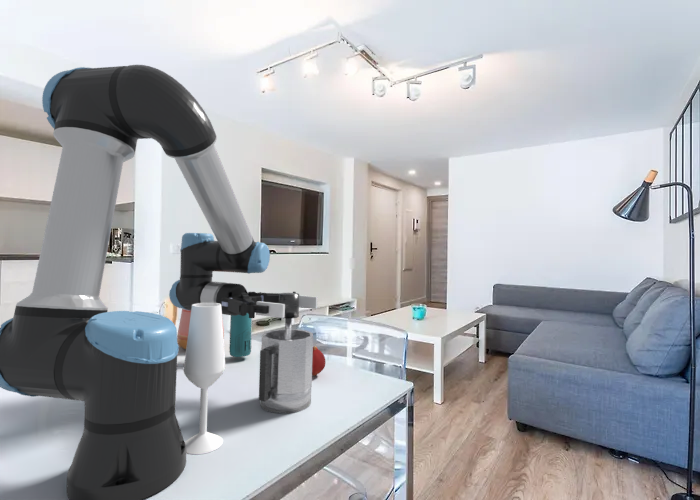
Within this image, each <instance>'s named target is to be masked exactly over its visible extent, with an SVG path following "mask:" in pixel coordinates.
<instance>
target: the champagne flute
mask: <svg viewBox="0 0 700 500" xmlns="http://www.w3.org/2000/svg"><path fill="white" fill-rule="evenodd" d="M222 318H223V314H222V308H221V304H220V303H197V304H193V305H192V308H191V316H190V324H189V332H188V339H187V347H186V350H185V356H184V365H183V373H184V376H185V377H186V379H188V381H189V382H190V383H192V384H193V385H194V386H195V387H197V388H199V389H200V398H199V400H200V402H199V403H200V404H199V432H198V433H196V434H194V435H193V436H191V437H189V438H188V439H186V440H184V442H185V445H186V454H189V455H203V454H208V453H211V452H214V451H215V450H217V449H219V448H220V447H221V446H222V445H223V442H224V439H223V437H221V436H220V435H218V434H215V433H212V432H209V431H208V428H207V427H208V403H209V402H208V397H209V396H208V393H209V392H208V391H209V387H211V386H213V385H214V384H215V383H216V382H217V381H218V380H219V379H220V378H221V377H222V375H223V373H224V371H225V369H226V357H225V356H226V355H225V342H224V341H225V340H224V339H225V337H224V338H223V328H224V322H223V323H222Z"/></svg>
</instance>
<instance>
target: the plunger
mask: <svg viewBox="0 0 700 500" xmlns="http://www.w3.org/2000/svg"><path fill="white" fill-rule="evenodd" d="M299 295H300V293H293V292H280V294H279V303H280V304H285V317H284V318H283V319H284V329H285V340H291V329H292V323H293V322H292V321H293V319H297V318H299V317H300V316H299V315H300V313H299V312H300V311H299V310H300V307H299Z"/></svg>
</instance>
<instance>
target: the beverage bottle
mask: <svg viewBox="0 0 700 500" xmlns="http://www.w3.org/2000/svg"><path fill="white" fill-rule="evenodd" d="M252 321H253V320H252V318H249V314H248V313H247V315H245V316H242V315H236V316H233V315H230V322H229V324H230V327H229V342H228V343H229V344H228V345H229V346H228V350H229V351H228V352H229V355H230V356H231V357H234V358H235V357H237V358H241V357H248V356H250V355H251V353H252V326H253V325H252V324H253V322H252Z"/></svg>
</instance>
